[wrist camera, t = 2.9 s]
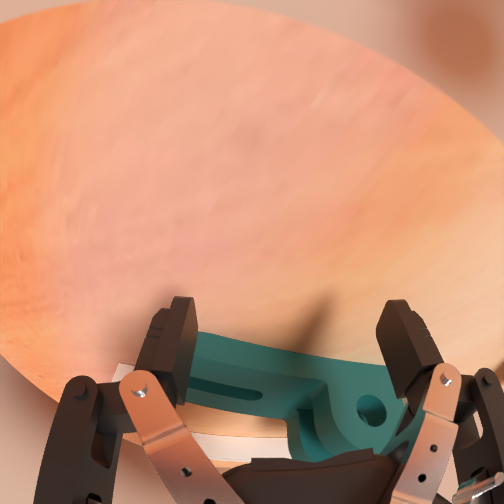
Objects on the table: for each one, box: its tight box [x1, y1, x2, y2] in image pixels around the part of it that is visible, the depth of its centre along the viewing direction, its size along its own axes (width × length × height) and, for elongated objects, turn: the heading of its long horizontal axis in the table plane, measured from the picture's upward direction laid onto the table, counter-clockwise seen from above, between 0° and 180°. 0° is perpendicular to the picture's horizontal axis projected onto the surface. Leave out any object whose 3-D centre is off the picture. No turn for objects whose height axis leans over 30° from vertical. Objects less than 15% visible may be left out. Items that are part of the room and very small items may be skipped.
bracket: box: [185, 332, 404, 462], centre depth 17 cm, size 18×7×8 cm, turn 72°
